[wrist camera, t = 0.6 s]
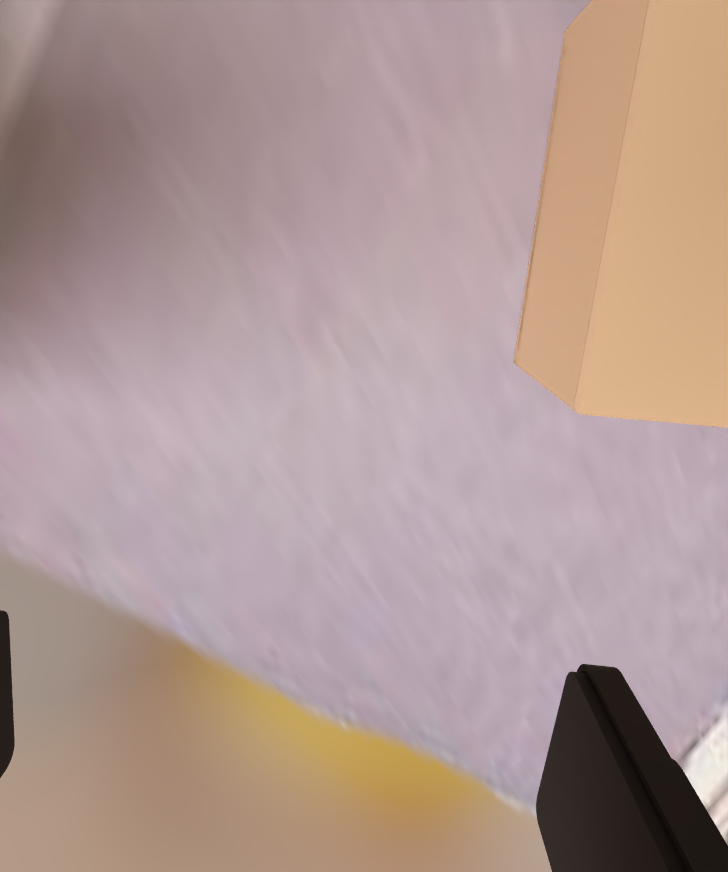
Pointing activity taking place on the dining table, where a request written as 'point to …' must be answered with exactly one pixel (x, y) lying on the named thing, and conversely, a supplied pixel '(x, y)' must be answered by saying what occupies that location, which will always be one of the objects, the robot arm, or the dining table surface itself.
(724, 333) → the carton lid
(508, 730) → the dining table surface
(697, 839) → the robot arm
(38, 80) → the dining table surface
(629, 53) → the carton
